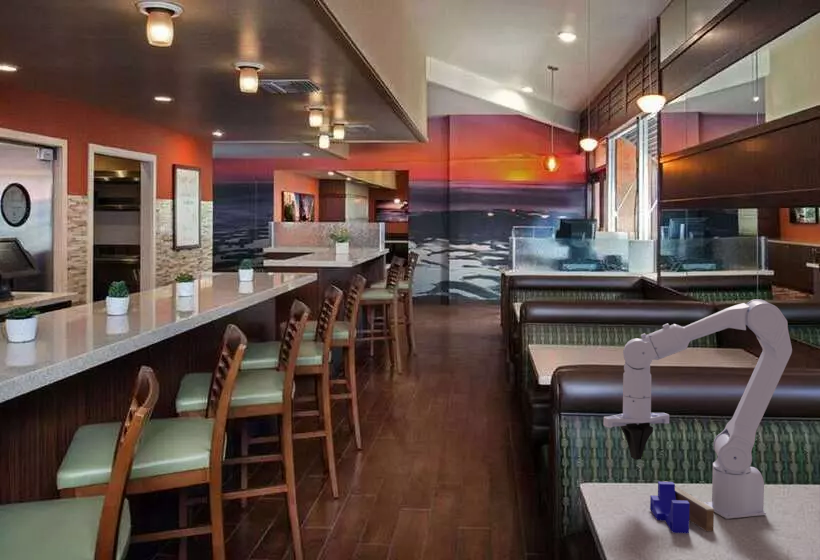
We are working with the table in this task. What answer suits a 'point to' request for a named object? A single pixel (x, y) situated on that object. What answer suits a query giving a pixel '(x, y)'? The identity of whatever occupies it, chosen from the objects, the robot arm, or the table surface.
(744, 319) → the robot arm
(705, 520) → the bar
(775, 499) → the table surface
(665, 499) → the cable clip
